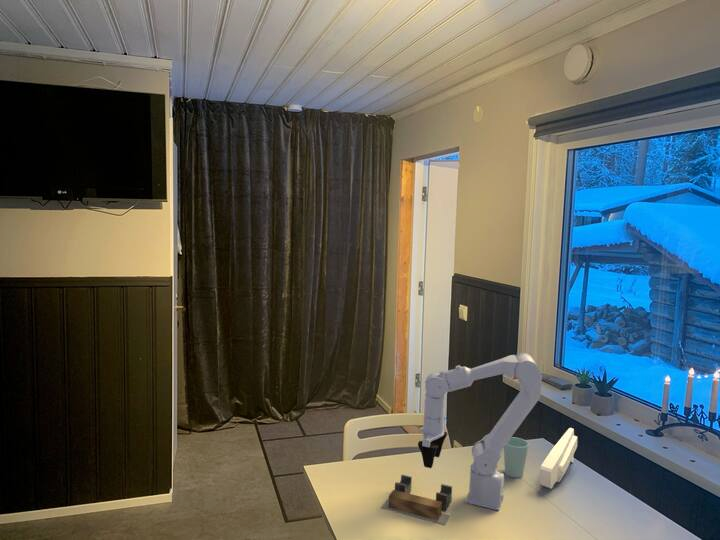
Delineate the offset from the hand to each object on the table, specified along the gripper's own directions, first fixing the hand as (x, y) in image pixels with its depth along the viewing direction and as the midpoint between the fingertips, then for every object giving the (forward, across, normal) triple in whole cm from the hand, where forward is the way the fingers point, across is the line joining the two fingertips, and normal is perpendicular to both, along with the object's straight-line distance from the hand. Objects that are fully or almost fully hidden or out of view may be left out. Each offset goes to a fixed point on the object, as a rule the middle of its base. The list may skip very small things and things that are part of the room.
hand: (431, 461), depth 155 cm
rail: (+10, +11, -1) cm, 15 cm away
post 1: (+10, +4, -7) cm, 13 cm away
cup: (+10, -25, +20) cm, 34 cm away
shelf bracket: (+10, -30, +33) cm, 46 cm away
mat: (+10, +11, -1) cm, 15 cm away
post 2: (+10, +4, +5) cm, 12 cm away
